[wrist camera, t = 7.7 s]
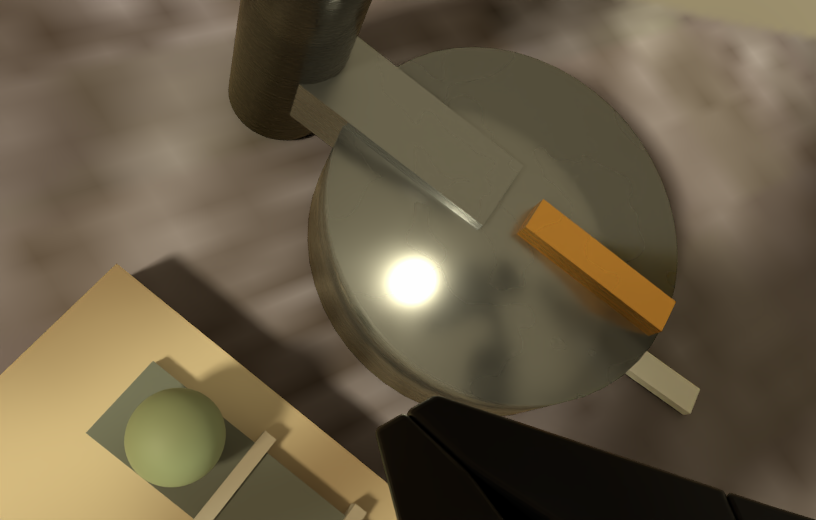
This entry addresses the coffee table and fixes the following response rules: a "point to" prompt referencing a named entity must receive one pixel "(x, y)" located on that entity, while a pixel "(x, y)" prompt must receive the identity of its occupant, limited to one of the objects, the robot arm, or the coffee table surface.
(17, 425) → the stand
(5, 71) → the coffee table surface
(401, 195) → the grey piece
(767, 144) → the coffee table surface
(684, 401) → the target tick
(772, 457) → the coffee table surface
